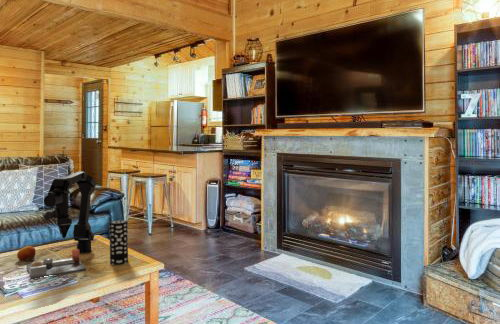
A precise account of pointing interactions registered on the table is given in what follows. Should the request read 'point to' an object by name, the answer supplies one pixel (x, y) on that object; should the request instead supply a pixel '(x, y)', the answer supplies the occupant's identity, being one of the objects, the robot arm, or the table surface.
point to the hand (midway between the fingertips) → (62, 236)
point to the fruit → (26, 253)
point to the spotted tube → (118, 242)
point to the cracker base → (55, 269)
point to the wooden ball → (37, 264)
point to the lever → (50, 262)
